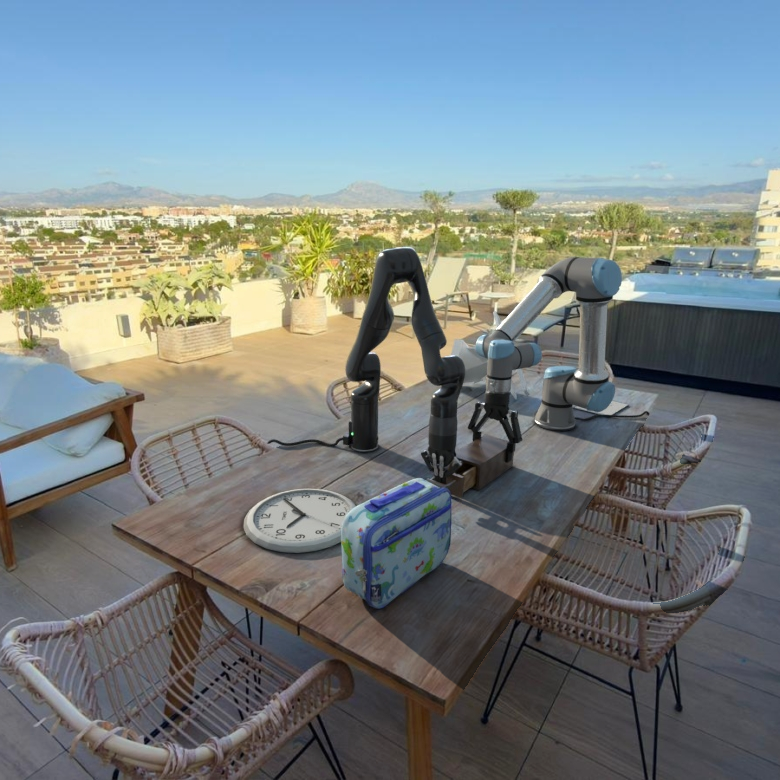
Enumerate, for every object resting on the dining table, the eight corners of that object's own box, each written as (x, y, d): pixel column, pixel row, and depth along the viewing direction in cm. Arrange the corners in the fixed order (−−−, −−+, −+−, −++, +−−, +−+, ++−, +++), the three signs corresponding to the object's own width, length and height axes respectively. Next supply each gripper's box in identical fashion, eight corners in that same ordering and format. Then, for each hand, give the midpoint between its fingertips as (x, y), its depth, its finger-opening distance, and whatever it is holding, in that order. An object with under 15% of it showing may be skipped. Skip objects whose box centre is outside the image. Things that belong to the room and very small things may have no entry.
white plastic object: (461, 429, 252) (437, 405, 227) (444, 352, 274) (420, 323, 250) (535, 404, 240) (518, 377, 215) (510, 326, 262) (492, 293, 237)
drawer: (448, 506, 141) (449, 485, 140) (420, 495, 147) (421, 475, 145) (496, 473, 161) (497, 454, 159) (469, 464, 167) (470, 446, 165)
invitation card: (608, 416, 214) (573, 407, 224) (608, 416, 214) (573, 408, 224) (628, 404, 229) (594, 396, 238) (628, 405, 229) (594, 397, 238)
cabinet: (478, 490, 152) (480, 465, 150) (447, 479, 159) (449, 454, 156) (512, 466, 168) (514, 442, 166) (483, 456, 175) (485, 434, 172)
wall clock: (362, 544, 122) (232, 548, 120) (362, 550, 123) (232, 555, 120) (359, 484, 151) (253, 486, 148) (359, 489, 151) (253, 492, 149)
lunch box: (370, 622, 101) (370, 527, 94) (335, 595, 108) (333, 505, 102) (455, 565, 118) (460, 481, 112) (420, 544, 125) (423, 465, 119)
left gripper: (414, 427, 141) (413, 484, 146) (456, 440, 133) (453, 500, 139) (430, 419, 147) (428, 475, 152) (471, 431, 139) (467, 489, 144)
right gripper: (459, 385, 165) (455, 449, 172) (527, 401, 151) (520, 470, 158) (471, 380, 171) (467, 443, 177) (538, 395, 157) (531, 462, 163)
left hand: (440, 487), depth 145 cm, fingers closed
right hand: (492, 456), depth 167 cm, fingers closed on cabinet, 11 cm apart
